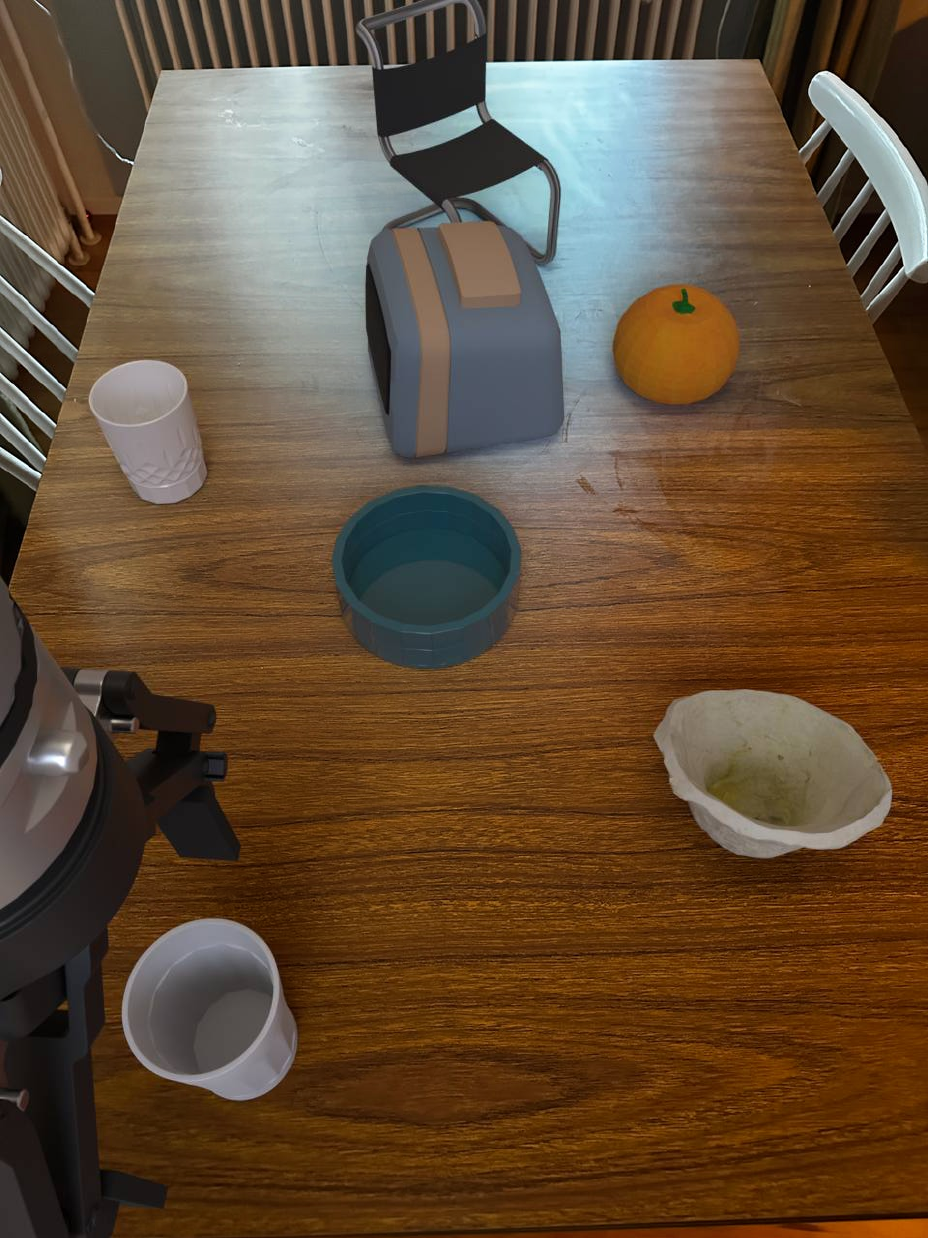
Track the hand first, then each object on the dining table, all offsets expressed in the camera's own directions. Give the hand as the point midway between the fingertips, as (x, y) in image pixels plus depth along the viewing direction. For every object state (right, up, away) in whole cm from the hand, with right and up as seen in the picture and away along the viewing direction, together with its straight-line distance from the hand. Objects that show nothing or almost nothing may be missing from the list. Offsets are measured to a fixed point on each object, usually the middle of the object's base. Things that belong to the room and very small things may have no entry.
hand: (175, 1007), depth 40 cm
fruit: (+32, +40, +53) cm, 73 cm away
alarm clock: (+12, +37, +51) cm, 65 cm away
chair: (+12, +56, +64) cm, 86 cm away
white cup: (-14, +29, +46) cm, 56 cm away
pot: (+9, +18, +38) cm, 43 cm away
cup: (-1, -10, +19) cm, 21 cm away
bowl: (+32, +3, +27) cm, 42 cm away
